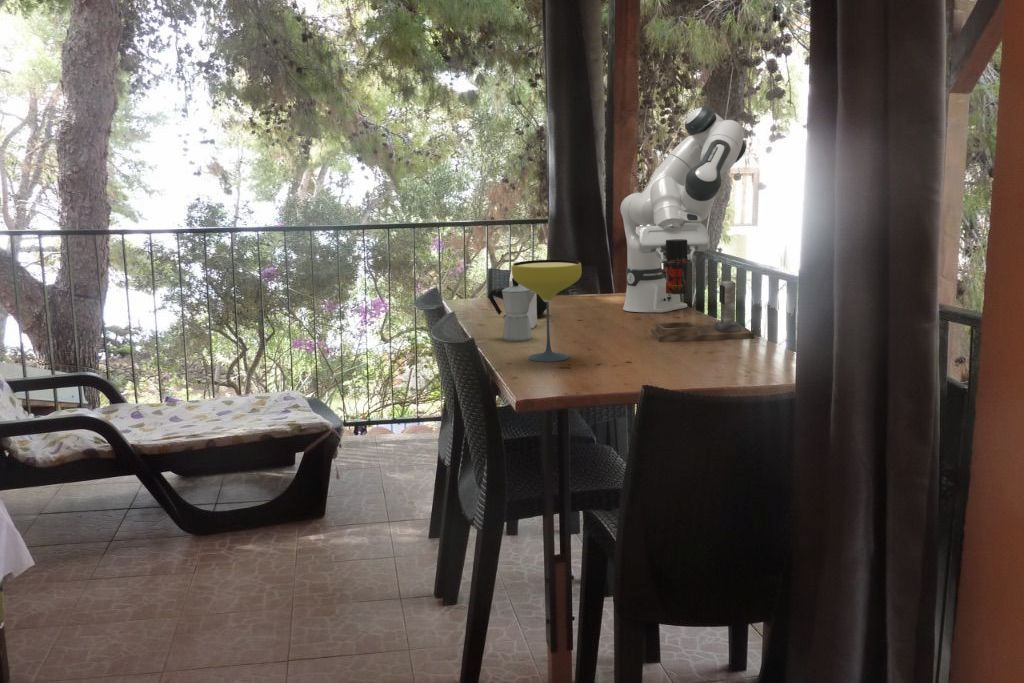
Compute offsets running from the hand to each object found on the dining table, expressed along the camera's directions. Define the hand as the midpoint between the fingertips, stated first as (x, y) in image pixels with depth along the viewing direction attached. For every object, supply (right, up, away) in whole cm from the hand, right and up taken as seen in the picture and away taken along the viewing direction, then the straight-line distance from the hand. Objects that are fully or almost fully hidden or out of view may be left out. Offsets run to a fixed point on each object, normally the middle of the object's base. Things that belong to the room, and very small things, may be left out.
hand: (676, 261), depth 273 cm
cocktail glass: (-37, -27, -18) cm, 49 cm away
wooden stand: (+8, -21, +5) cm, 23 cm away
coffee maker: (-46, -22, +10) cm, 52 cm away
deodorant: (0, -9, +2) cm, 9 cm away
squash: (-41, -14, +49) cm, 65 cm away
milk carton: (-43, -18, +29) cm, 55 cm away
